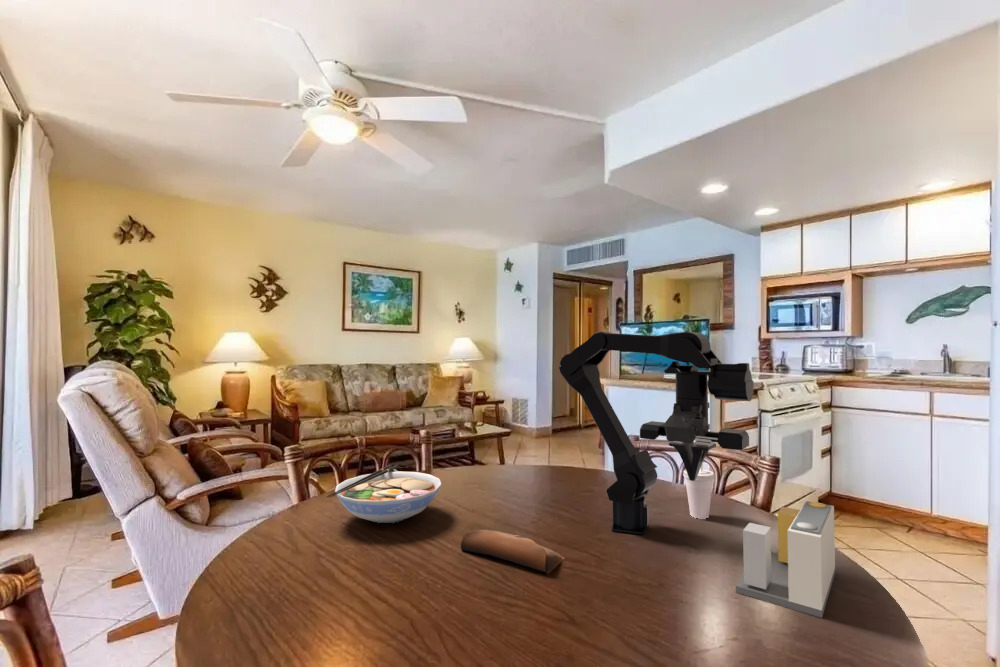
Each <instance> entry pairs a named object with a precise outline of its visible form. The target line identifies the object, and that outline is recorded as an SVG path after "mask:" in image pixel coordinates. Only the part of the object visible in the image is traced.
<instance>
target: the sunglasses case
mask: <svg viewBox="0 0 1000 667" xmlns="http://www.w3.org/2000/svg"><path fill="white" fill-rule="evenodd" d="M460 549H461V550H462V551H466V552H471V553H476V554H481V555H488V556H492V557H494V558H497V559H501V560H504V561H509V562H512V563H515V564H518V565H521V566H525V567H529V568H532V569H535V570H538V571H540V572H544V573H545V574H546V575H549V574H550V573H551V572H552V571H554V569H556V568H557V566H559V565H560V564H561V563H562V562H563V560H565V559H566V558H565V557H563V556H562V555H561V554H560V553H559V552H556V551H554V550H552V549H550V548H547V547H545V546H542V545H540V544H538V543H537V542H536V541H534V540H533V539H531V538H528V537H522V536H520V535H517V534H512V533H508V532H502V531H499V530H491V529H475V530H470V531H468V532H465V534H463V537H462V539H461V541H460Z"/></svg>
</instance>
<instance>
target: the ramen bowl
mask: <svg viewBox="0 0 1000 667" xmlns="http://www.w3.org/2000/svg"><path fill="white" fill-rule="evenodd" d="M398 468H399V465H397V464H396V465H393V466H392V464H388V465H386V466H383V467H382V468H380V469H378V470H376V471H374V472H372V473H369V474H368V473H367V474H361V475H358V476H355V477H351V478H347V479H345V480H343V481H342V482H340V483H339V484H337V485H336V487H335V490H334V492H333V493H331V494H329V495H326V498H333V497H334V496H336V497H337V498H338V500H339V502H340V503H341V505H343V507H345V509H346V510H347V511H348V512H349V513H351V514H353V516H355V517H357V518H359V519H363V520H366V521H371V522H374V523H375V522H377V523H376V524H379V523H392V524H396V523H395V522H397V523H400V522H399V521H401V522H402V520H403V521H405V520H407V519H408V518H411V517H413V516H416V515H417V514H419V513H421V512H423V511H424V510H425V509H427V508H428V506H429V505H430V504H431V503H432V501H433V500H434V499H435V497H436V496H437V494H438V493H439V491H440V489H441V486H442V484H443V483H442V482H441V479H440V478H439V477H437V476H435V475H432V474H429V473H424V472H419V471H418V472H417V471H398V470H397V469H398ZM395 470H397V471H395ZM404 519H405V520H404Z"/></svg>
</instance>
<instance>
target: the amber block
mask: <svg viewBox="0 0 1000 667" xmlns="http://www.w3.org/2000/svg"><path fill="white" fill-rule="evenodd" d="M799 511H800V509H797V508H792V507H786V506H782V507H780V509H779V510H778V512H777V535H778V536H777V543H778V544H777V546H778V552H777V554H778V557H779V561H781V562H785V563H788V534H787V530H788V529H789V527H790V526H791V524H792V522H793V521H794V519H795V518H796V516H797V514H798V513H799Z"/></svg>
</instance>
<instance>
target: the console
mask: <svg viewBox="0 0 1000 667" xmlns="http://www.w3.org/2000/svg"><path fill="white" fill-rule="evenodd" d="M799 510H800V511H799V513H798V514H797V516H796V518H795V519H794V521H793V522H792V524H791V526H790V527H789V529H788V530H787V534H788V563H785V562H781V561H779V557H778V552H772V551H771V576H772V580H771V581H770V583H769V585H768V587H767V589H762V588H759V587H755V586H751V585H748V584H744V574H743V575H742V576H741V578H740V580H738V582H737V583H736V584H735V593H736V594H739V595H743V594H744V596H746V595H747V596H746V597H749V596H751V597H750V598H753V597H754V598H753V599H756V598H758V599H757V600H759V599H760V600H759V601H763V602H766V601H767V603H770V604H774V605H777V606H780V607H784V608H787V609H790V610H793V611H797V612H799V613H803V614H808V615H810V616H815V617H817V618H821V619H823V617H824V613H825V609H826V606H827V603H828V598H829V595H830V592H831V589H832V585H833V582H834V579H835V576H836V550H835V549H836V548H835V547H836V544H835V542H836V541H835V538H836V537H835V505H831V504H825V503H823V502H822V503H821V502H816V501H806V500H805V501H804V503H803V505H802V506H801V508H800V509H799Z"/></svg>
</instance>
